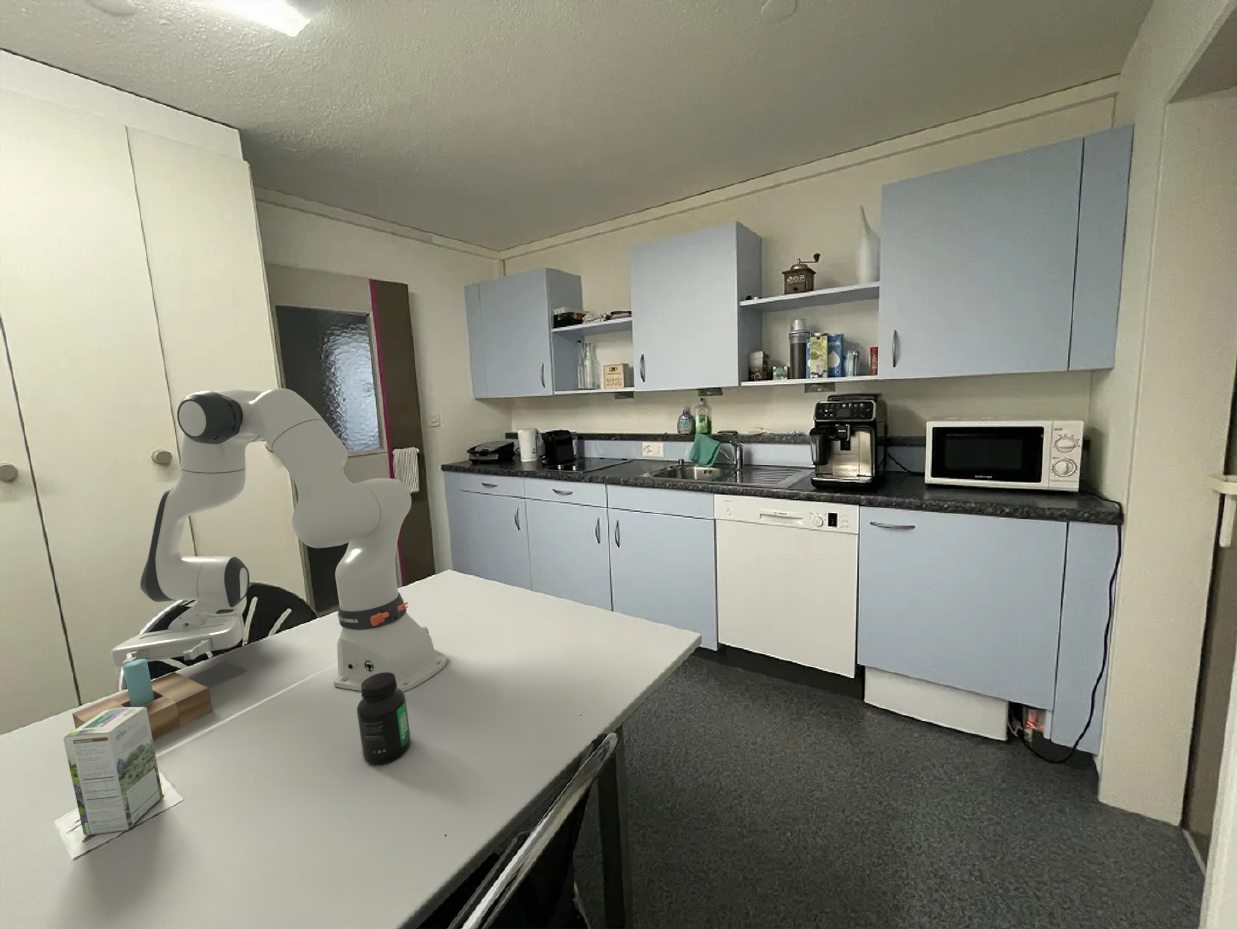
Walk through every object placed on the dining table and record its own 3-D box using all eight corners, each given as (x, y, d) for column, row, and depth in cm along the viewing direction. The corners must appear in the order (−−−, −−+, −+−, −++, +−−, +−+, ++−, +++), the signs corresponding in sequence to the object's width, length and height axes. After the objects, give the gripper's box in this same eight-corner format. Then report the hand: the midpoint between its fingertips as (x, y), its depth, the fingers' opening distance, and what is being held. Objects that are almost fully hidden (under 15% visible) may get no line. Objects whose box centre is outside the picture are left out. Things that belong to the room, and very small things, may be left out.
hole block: (213, 713, 91) (208, 687, 90) (109, 764, 79) (102, 735, 78) (178, 695, 98) (174, 671, 97) (78, 739, 86) (72, 713, 85)
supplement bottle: (419, 747, 78) (410, 677, 77) (375, 773, 73) (365, 699, 72) (398, 730, 83) (390, 663, 81) (356, 754, 78) (345, 683, 76)
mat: (248, 672, 105) (248, 670, 105) (191, 698, 96) (191, 696, 96) (225, 662, 110) (225, 661, 110) (168, 687, 101) (168, 685, 101)
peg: (162, 723, 89) (149, 661, 87) (140, 733, 86) (126, 669, 85) (155, 719, 90) (142, 657, 89) (133, 729, 88) (120, 666, 86)
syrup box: (122, 802, 71) (101, 709, 69) (166, 797, 71) (146, 704, 69) (83, 837, 65) (59, 736, 63) (130, 831, 66) (108, 731, 64)
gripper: (133, 625, 103) (85, 657, 90) (248, 607, 108) (218, 635, 95) (139, 653, 104) (92, 689, 90) (253, 634, 109) (223, 666, 96)
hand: (158, 661), depth 93 cm, fingers open, 8 cm apart
